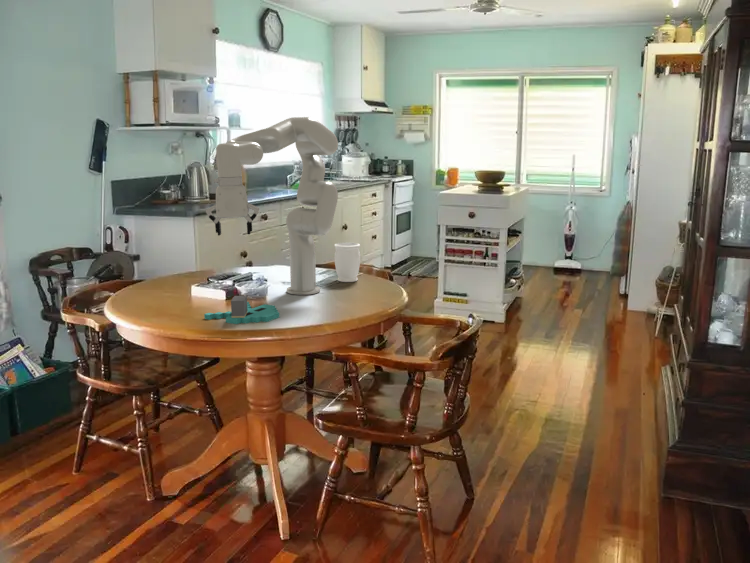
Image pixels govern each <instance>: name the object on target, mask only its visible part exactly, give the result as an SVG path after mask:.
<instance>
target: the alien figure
mask: <svg viewBox="0 0 750 563" xmlns="http://www.w3.org/2000/svg"><path fill="white" fill-rule="evenodd" d="M247 311H248V312H247V314H246V316H245V317H244V318H232V314H231V310H230V311H225V312H223V311H222V312H221V311H218V312H215V313H213V312H207V313H204V314H203V315H204V316H203V317H204V319H205V320H213V319H218V320H221V319H223V318H224V319H225V323H228V324H234V325H239V324H249V323H260V322H263V323H265V322H266V323H269V322H270V321H273V320H276V319H278V318H280V312H279V310H278V309H277V307H276V305H273V304H261V305H258V306H255V307H252V306H251V304H250V302H249V301H247Z"/></svg>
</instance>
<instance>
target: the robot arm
mask: <svg viewBox="0 0 750 563" xmlns="http://www.w3.org/2000/svg"><path fill="white" fill-rule="evenodd" d="M338 141H339V140H338V138H337V136H336V134H335V133H334V132H333V131H332V130H330V128H328V127H327V126H326V125H324V124H323V123H322V122H320V121H318V120H317V119H315V118H313V117H311V116H310V117H309V116H306V117H305V116H303V117H299V116H298V117H289V118H286V119H284V120H282V121H280V122H278V123H275V124H273V125H271V126H269V127H267V128H262V129H259V130H256V131H253V132H250V133H246V134H245V133H244V134H242V135H239V136H237V137H235V138H232V139H230V140H228V141H227V142H225V143H219V144H217V145H216V147H215V150H216V153H215V154H216V165H217V178H214V179H213V183H214V184H217V185H218V186H217V187H216V189H215V204H214V205H212V206H210V207H209V208H207V209H205V214H206V215H207V216H208V218H209V219H210V220H211V221H212V222H213V223H214V225H215V226H214V227H215V233H216V234H217V236H218V237H219V236H221V234H222V226H221V221H220V220H221V219H233V218H236V219H237V218H244V219H245V220H246V221H247V222H246V228H247V229H246V231H247V235H248V236H249V235H251V233H252V232H253V221H254V220H255V219H256V218H257V216H258V213H259V211H260V207H258V206H256V205H253V204H251V203H249V202H248V194H247V191H246V190H247V189H246V186H245V185H243V172H242V166H243V165H244V166H245V165H246V166H252V165H257V164H258V163H260V162H261V160H263V157H264V154H271V153H272V154H273V153H275V152H279V151H281V150H283V149H285V148H286V147H288V146H291V145H293V144H295V147H296V150H297V152H298V154H299V156H300V160H301V162H302V171H301V175H300V178H299V179H300V180H299V182H298V183H299V184H298V188H297V192H296V200H297V203H299V204H300V205H302V206H307V207H316V209H315V208H303V207H298V208H293V209H291V210H290V211H288V213H287V215H286V221H285V222H286V227H287V228H286V229H287V232H288V238H289V239H288V240H289V266H290V267H289V269H290V273H289V274H290V286H288V287H286V293H288V294H290V295H298V296H299V295H300V296H304V295H305V296H306V295H308V296H309V295H314V294H317V293H320V291H321V288H320V287H319V286H317V279H316V278H317V277H316V276H317V273H316V271H317V270H316V244H315V240H314V237H313V236H318V237H319V236H321V237H323V236H326V235H327V234H328V233H329V232H330V230H331V228H332V225H333V221H334V217H335V212H336V209H337V204H338V199H339V192H338V189H337V186H336V184H334V183H333V182H331V181H328V180H327V181H326V180H325V174H326V167H325V163H324V161H323V160H322V158H321V156H331V155H332V156H333V154H335V153H336V151H337V150H338V147H339V142H338ZM249 209H251V210H252V211H253V213H252V214H251V215H249ZM214 210H215V211H216V213H215V214H216V216H215V215H213V213H212V212H213V211H214Z"/></svg>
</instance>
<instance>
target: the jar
mask: <svg viewBox="0 0 750 563" xmlns="http://www.w3.org/2000/svg"><path fill="white" fill-rule="evenodd" d="M334 248H335V250H334V256H333V257H334V265H335V271H336V274H337V276H338V277H337V281H339V282H342V283H353V282H357V281H358V277H357V276H358V274H359V272H360V266H361V252H360V248H361V244H360V243H359V242H358V243H356V242H337V243H334Z"/></svg>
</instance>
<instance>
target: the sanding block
mask: <svg viewBox="0 0 750 563" xmlns="http://www.w3.org/2000/svg"><path fill="white" fill-rule="evenodd" d="M247 302H248V296H247V295H234V296H233V297H232V299H231V300H230V309H231V310H230V312H231V314H232V318H244V317H245V316H246V314H247V312H248V311H247Z"/></svg>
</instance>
